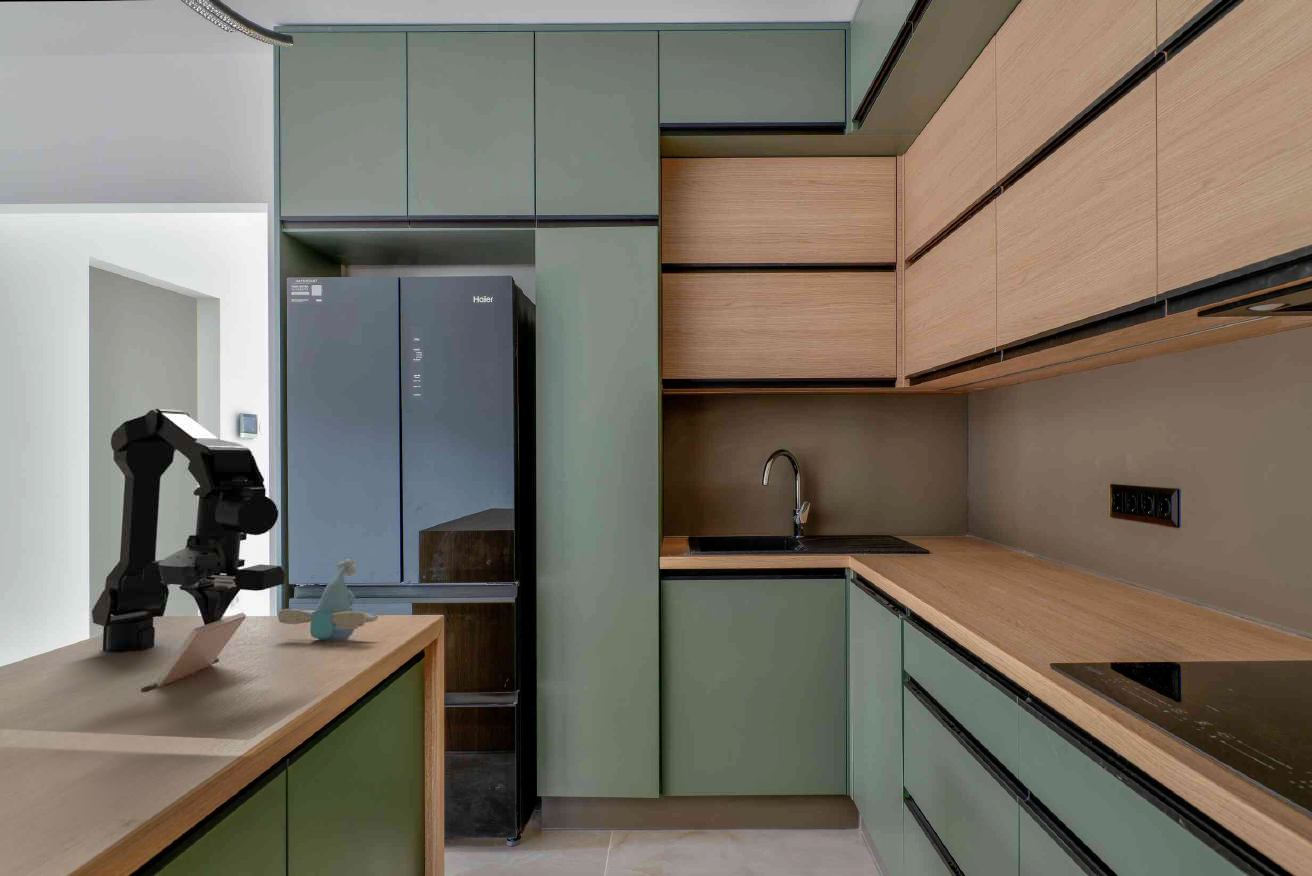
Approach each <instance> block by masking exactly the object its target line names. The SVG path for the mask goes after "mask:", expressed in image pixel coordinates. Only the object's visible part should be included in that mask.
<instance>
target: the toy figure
mask: <svg viewBox="0 0 1312 876" xmlns="http://www.w3.org/2000/svg"><path fill="white" fill-rule="evenodd" d="M336 569H337V570H339V572H338V573H337V574H336V576H334V578H333V579H331V580H330V581H329V583H328V584H326V587H325V589H324V591H323V593H322V595H321V597H320V600H319V602H318V605H317V608H316V610H311V609H305V610H304V609H303V610H301V609H299V608H284V609H280V610H279V612H278V622H279V623H282V624H286V625H300V624H305V623H306V624H307V623H310V630H309V631H310V632H309V633H310V635H311V637H313V638H314V639H317V640H319V641H333V642H344V641H346V640H348V639H349V638H350V637H351V636H352V634H353V633H354V631H355V630H357V629H358V628H360V627H363V626H364V625H365V623H373V622H375V621H377V620H378V617H379V616H378V615H377V614H373V612H366V611H365V612H360V611H353V610H352V607H351V606H352V605H354V603H355V602H356V601H355V598H356V597H355V594H354V593H353V591H351V590H350V589H348V586H347V583H346V580H345V579H344V577H351V576H354V574H356V572H357V570H358V569H357V566H356V565H355V564H354V560H353V559H350V558H348V559H345V560H344V561H339V562H338V563H337V565H336Z"/></svg>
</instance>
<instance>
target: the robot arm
mask: <svg viewBox="0 0 1312 876" xmlns="http://www.w3.org/2000/svg"><path fill="white" fill-rule="evenodd" d="M110 445H111V449H112V450H113V462H114V463H115V464H116V466H117V467H118V468H119V469H120V471H121V473H122V474H123V476H124V490H123V502H122V504H123V505H122V506H123V507H122V521H121V536H120V549H119V551H120V553H119V562H118V563H117V564H116V565H115V566H114V567H113V569H112V570H111V571H110V573H108V574H107V576H106V579H105V583H104V584H105V585H104V589H103V590H102V592H101V594H100V596H99V597H98V599H97V600H96V602H95V605H94V606H93V608H92V611H91V614H92V615H91V616H92V624H96V625H98V626H102V627H103V631H102V632H103V633H102V635H103V636H102V651H106V652H108V653H127V652H137V651H138V652H140V651H145V650H147V649H150V648H153V647H155V637H156V636H155V633H156V631H155V630H156V627H155V626H154V618H158V617H159V618H160V617H164V615H165V611H166V607H167V603H168V598H169V594H170V591H169V585H177V586H178V587H179V589H180V591H185V592H186V593H188V594H189V595H191V596H192V597H193V599H194V600H195V603H196V605H197V608H198V610H199V613H200V615H201V618H202V620H203V624H204V625H207V624H210V623H213V622H216V621H219V620H222V619H223V617H224V615H225V613H226V612H227V610H228V608H229V607H230V605H231V603H232V602H233V601H234V599H235V598H236V597H237V595H238V593H239V592H240V591H241V590H242V591H243V590H244V591H258V592H259V591H264V590H267V589H271V588H274V587H278V586H280V585H284V584H285V579H286V573H285V570H284V568H283V567H282V566H281V565H273V564H272V565H271V564H256V565H252V566H249V567H245V561H246V560H245V559H242V558H241V559H240V553H241V552H240V551H241V550H240V549H241V541H246V540H247V535H250V536H260V535H263V534H266V533H268V532H269V531H270V530H271V529H273V528H274V526H275V525H276V523H277V521H278V518H279V510H278V508H277V504H276V503H275V501H273V500H272V499H271V498H269V497H268V496H266V494H267V492H266V490H267V489H266V487H265V484H264V482H265V478H264V477H263V475H262V473H261V471H260V469H259V467H258V465H257V462H256V458H255V456H254V455H253V452H252V451H251V450H250V449H249V448H250V447H248V446H245V445H243V444H240V443H238V442H234V441H229V440H224V439H223V440H222V439H220V438H218V437H217V436H215V435H214V434H212V433H211V432H209V431H208V429H206V428H205V427H203V426H202V425H200V424H199V423H198V422H197V421H195V420H194V419H193V418H191V416H190V414H189V412H188V411H184V410H181V409H170V408H169V409H167V408H155V409H151V410H149V411H148V412H147V413H145V414H144V415H142V416H138V417H135V418H132V419H129V420H126V421H124V422H123V423H121V424H120V425H119V426H118V427H117V428H116V429H115V430H114V431H113V432H112V433H111V439H110ZM176 451H178V452H179V453H180V454H182V455H183V456H184V457H186V458H187V459H188V461H189V462H188V467H187V470H188V471H189V473H190V474H191V475H192V476H193V478H194V480H195V481H196V483H197V484H198V486H199V487H197V488H196V489H194V491H193V495H194V496H197V497H198V503H197V513H196V514H197V515H196V516H197V517H196V524H195V525H196V526H195V528H196V529H195V534H192V535H191V534H190V535H188V538H187V540H186V545H185V548H183V549H181V550H177V551H175V552H174V553H172V554H170V555H168V556H167V557H166V558H164V559H160V560H156V556H157V555H156V554H157V539H158V537H157V536H158V524H159V523H158V521H159V508H160V491H161V478H162V476H163V475H164V473H165V472H166V471H167V470H168V469H169V467H170V466H171V465H172V464H173V462H174V458H175V457H174V456H175V452H176ZM241 567H245V568H241Z"/></svg>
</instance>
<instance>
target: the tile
mask: <svg viewBox="0 0 1312 876" xmlns="http://www.w3.org/2000/svg"><path fill="white" fill-rule="evenodd" d="M246 617H247V615H246V614H245V613H244V612H241V613H237V614H234V615H231V616H228V617H225V618H221V620H219V621H216V622H213V623H210V624H207V625H205V624H204V625H202V626H198V627H195V628H193V629H192V630H191V632H190V633H189V635H188V636H187V637H186V639H185V640H184V642H183V643H182V644H181V646H180V647H179V649H178V650H177V651H176V653H175V654H174V655H173V657H172V658H171V660H170V661H169V662H168V664H167V665H166V666H165V668H164V669H163V671H162V672H161V673H160V675H159V676H158V677H157V679H156V680H155V681H154V683H155V684H156V685H157V688H158V687H163V686H165V685H167V684H170V683H172V682H175V681H177V680H179V679H181V678H182V679H183V677H187V676H189V675H191V674H193V673H196V672H198V671H201V670H203V669H205V668H208V667H210V666H212V665H213V664H212V663H213V662H214V660H215V659H216V658H218V656H219V655H220V653H221V652H223V650H224V648H225V646H227V644H228V643H229V641H230V640H231V638H232V637H233V636H234V634H235V633H236V632H237V631H238V629H239V628H240V626H241V625H242V624H243V622H244V620H245V619H246Z"/></svg>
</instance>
